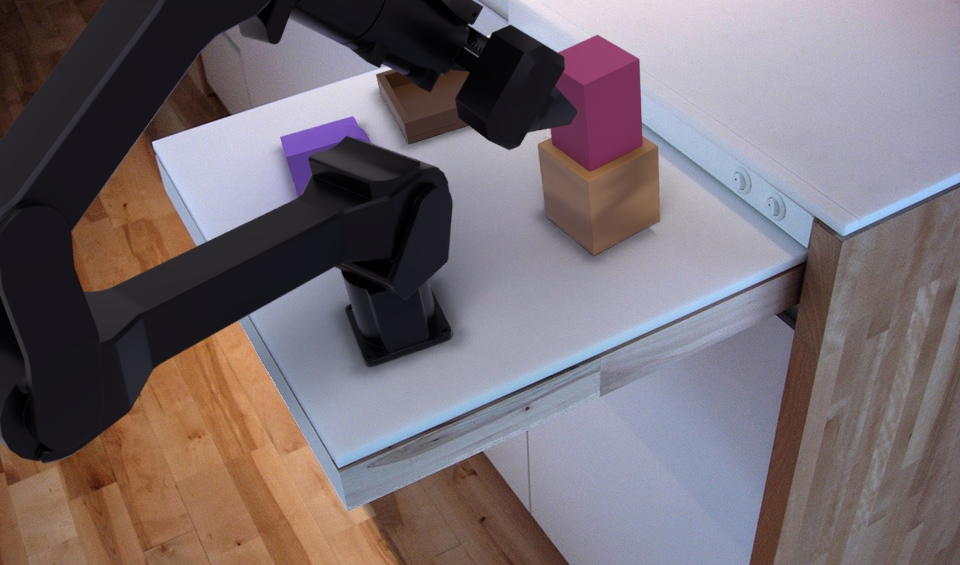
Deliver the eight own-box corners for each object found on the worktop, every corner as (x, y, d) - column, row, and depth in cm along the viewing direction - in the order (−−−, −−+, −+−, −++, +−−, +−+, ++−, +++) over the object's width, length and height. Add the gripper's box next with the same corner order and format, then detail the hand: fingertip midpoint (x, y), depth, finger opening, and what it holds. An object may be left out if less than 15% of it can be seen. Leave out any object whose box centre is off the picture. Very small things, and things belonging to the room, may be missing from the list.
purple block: (386, 201, 86) (369, 132, 81) (307, 225, 85) (285, 157, 80) (356, 130, 95) (339, 65, 90) (284, 150, 94) (263, 86, 89)
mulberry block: (590, 172, 73) (583, 85, 68) (551, 144, 76) (542, 58, 72) (643, 145, 75) (639, 58, 70) (603, 119, 78) (597, 34, 73)
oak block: (593, 256, 77) (587, 181, 72) (545, 216, 81) (536, 143, 77) (660, 220, 79) (658, 145, 74) (610, 183, 83) (605, 110, 79)
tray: (546, 100, 94) (544, 80, 92) (408, 144, 92) (403, 123, 90) (509, 54, 101) (506, 34, 100) (380, 93, 99) (375, 73, 97)
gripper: (518, -90, 51) (688, 31, 62) (351, -168, 64) (516, -56, 74) (410, 106, 53) (592, 189, 64) (270, -6, 66) (441, 79, 77)
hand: (532, 90), depth 70 cm, fingers open, 9 cm apart
